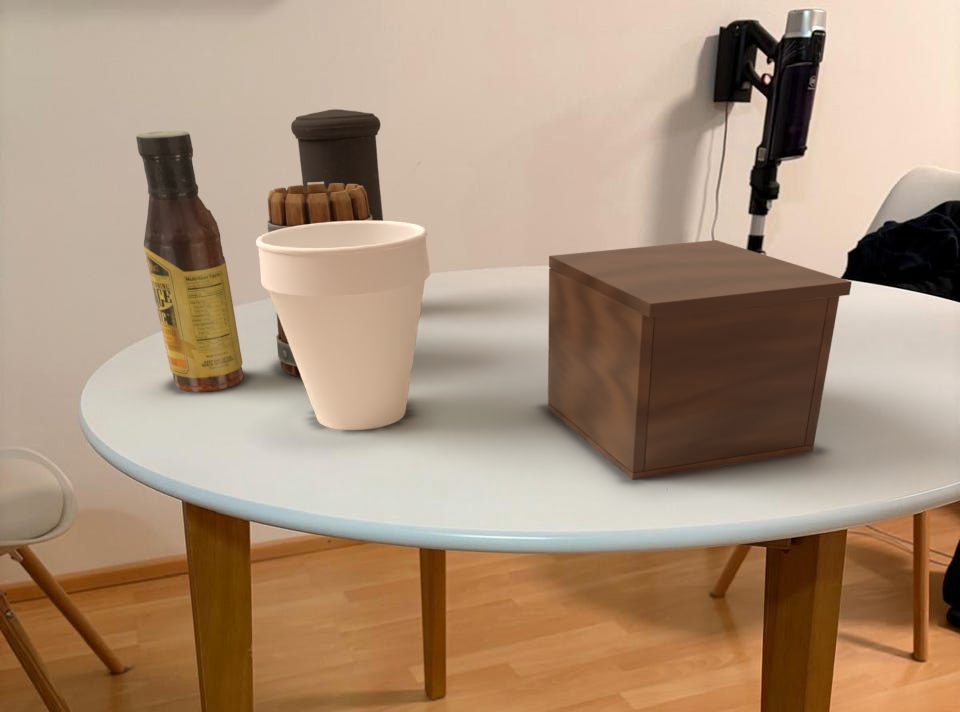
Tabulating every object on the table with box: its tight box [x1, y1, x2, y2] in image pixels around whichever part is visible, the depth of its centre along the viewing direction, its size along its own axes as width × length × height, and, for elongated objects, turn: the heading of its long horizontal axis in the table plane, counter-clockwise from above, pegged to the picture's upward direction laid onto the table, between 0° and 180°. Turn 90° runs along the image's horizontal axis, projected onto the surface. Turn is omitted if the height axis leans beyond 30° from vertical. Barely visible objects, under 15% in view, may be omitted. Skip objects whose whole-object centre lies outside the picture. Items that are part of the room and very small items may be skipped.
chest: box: [547, 267, 841, 481], centre depth 65 cm, size 16×14×11 cm
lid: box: [548, 239, 853, 318], centre depth 61 cm, size 16×14×1 cm
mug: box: [266, 182, 373, 377], centre depth 83 cm, size 16×11×15 cm
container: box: [290, 108, 384, 221], centre depth 97 cm, size 9×9×20 cm
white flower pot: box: [255, 220, 431, 431], centre depth 69 cm, size 12×12×14 cm
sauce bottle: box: [135, 130, 244, 393], centre depth 76 cm, size 7×6×20 cm
